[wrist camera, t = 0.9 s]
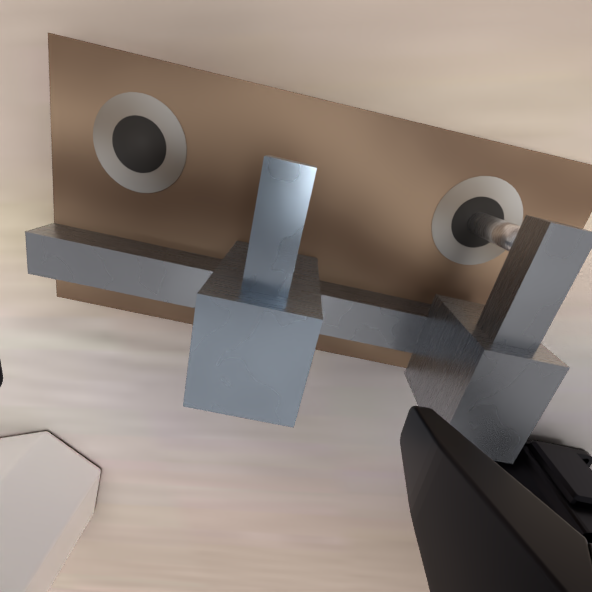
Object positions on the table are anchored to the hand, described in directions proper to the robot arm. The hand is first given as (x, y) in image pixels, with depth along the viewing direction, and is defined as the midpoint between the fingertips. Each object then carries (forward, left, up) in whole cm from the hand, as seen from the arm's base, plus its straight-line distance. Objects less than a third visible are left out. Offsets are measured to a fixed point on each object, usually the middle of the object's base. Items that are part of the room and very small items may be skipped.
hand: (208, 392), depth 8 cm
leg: (0, -1, -11) cm, 11 cm away
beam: (0, -1, -11) cm, 11 cm away
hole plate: (+1, -2, -12) cm, 12 cm away
